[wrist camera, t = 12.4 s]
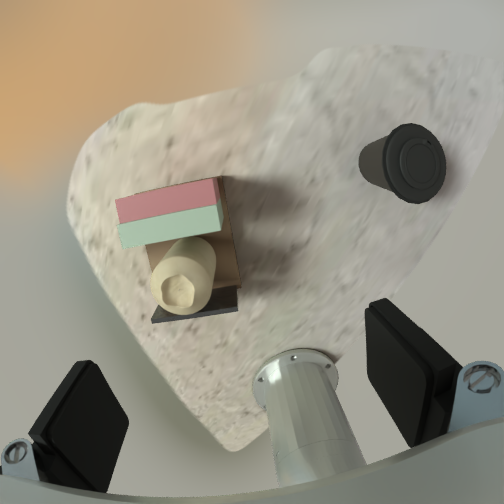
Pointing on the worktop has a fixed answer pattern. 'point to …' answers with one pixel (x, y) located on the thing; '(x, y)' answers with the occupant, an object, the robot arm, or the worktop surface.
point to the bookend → (217, 304)
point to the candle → (185, 276)
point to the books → (170, 213)
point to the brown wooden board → (218, 240)
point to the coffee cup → (405, 163)
